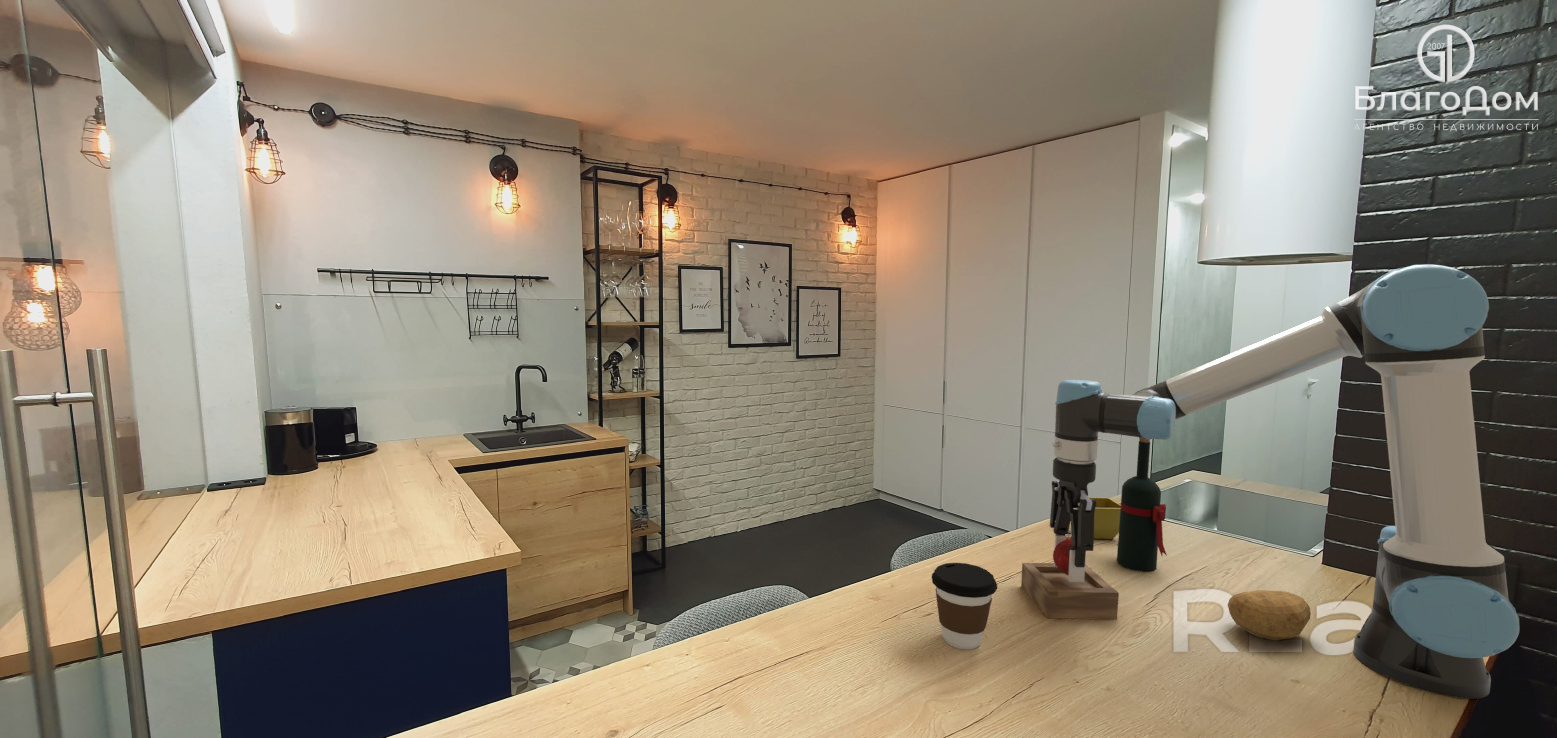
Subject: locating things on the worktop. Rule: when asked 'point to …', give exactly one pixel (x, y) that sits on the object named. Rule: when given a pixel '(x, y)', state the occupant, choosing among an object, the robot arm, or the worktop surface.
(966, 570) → the coffee cup
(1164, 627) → the worktop surface
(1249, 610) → the potato
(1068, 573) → the pomegranate
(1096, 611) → the walnut tray
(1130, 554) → the wine bottle
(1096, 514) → the flower pot
